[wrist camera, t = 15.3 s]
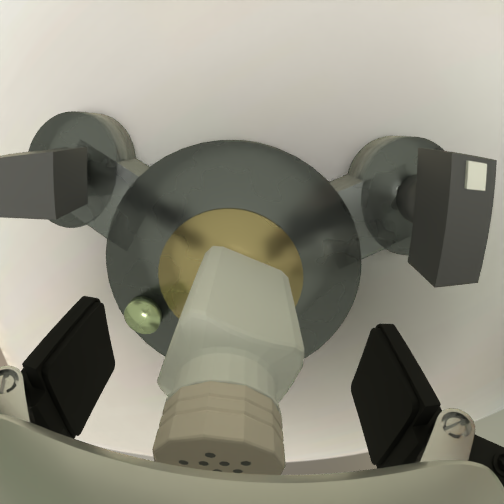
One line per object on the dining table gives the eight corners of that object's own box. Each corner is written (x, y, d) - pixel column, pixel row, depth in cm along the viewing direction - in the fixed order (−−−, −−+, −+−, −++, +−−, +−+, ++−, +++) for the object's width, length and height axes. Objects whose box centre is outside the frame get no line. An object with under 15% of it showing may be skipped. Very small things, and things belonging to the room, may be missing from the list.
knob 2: (430, 246, 14) (479, 284, 10) (391, 247, 14) (436, 289, 10) (439, 150, 12) (498, 160, 8) (398, 145, 12) (454, 152, 8)
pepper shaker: (291, 269, 14) (336, 447, 5) (256, 333, 16) (258, 506, 7) (211, 236, 14) (150, 401, 5) (183, 306, 15) (126, 474, 6)
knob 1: (106, 144, 12) (50, 152, 8) (106, 195, 13) (53, 221, 9) (29, 150, 12) (-29, 162, 8) (31, 194, 13) (-25, 217, 9)
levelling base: (443, 148, 15) (474, 153, 12) (363, 411, 22) (372, 438, 19) (51, 118, 14) (19, 118, 11) (89, 387, 21) (76, 412, 19)
